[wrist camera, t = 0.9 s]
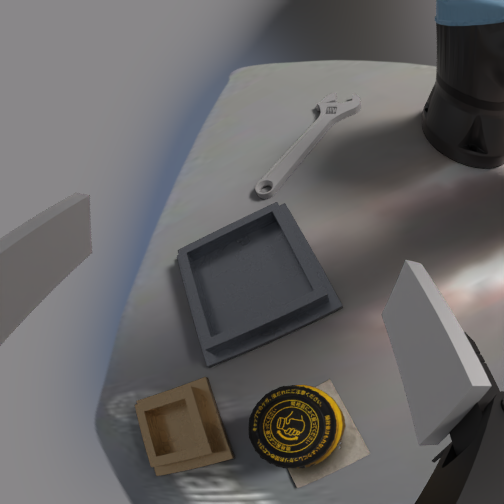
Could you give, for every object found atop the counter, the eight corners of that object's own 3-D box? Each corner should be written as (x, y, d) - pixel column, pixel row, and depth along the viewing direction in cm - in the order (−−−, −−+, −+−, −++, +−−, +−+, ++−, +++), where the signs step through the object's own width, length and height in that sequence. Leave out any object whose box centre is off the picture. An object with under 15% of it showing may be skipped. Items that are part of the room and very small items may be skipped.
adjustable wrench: (269, 205, 41) (265, 196, 40) (236, 187, 45) (232, 178, 43) (366, 105, 46) (366, 96, 45) (335, 95, 50) (333, 87, 48)
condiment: (329, 379, 28) (317, 352, 18) (370, 453, 23) (383, 471, 13) (261, 413, 28) (211, 404, 18) (297, 487, 23) (265, 522, 13)
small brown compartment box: (207, 377, 31) (196, 373, 29) (234, 457, 26) (225, 459, 24) (139, 401, 32) (125, 398, 30) (159, 475, 27) (145, 477, 25)
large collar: (285, 206, 40) (281, 192, 38) (342, 307, 31) (341, 298, 29) (178, 257, 41) (169, 247, 38) (209, 367, 32) (198, 362, 30)
